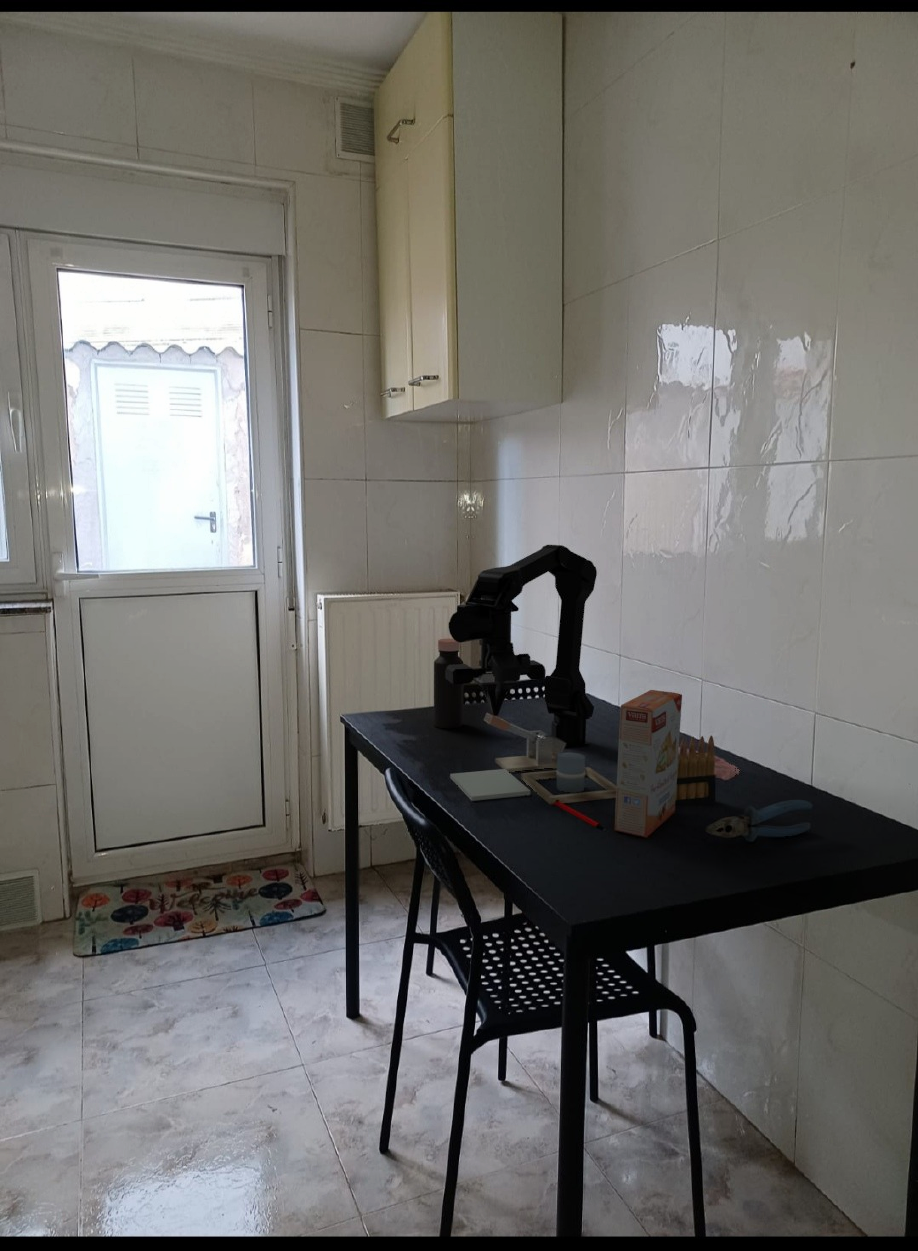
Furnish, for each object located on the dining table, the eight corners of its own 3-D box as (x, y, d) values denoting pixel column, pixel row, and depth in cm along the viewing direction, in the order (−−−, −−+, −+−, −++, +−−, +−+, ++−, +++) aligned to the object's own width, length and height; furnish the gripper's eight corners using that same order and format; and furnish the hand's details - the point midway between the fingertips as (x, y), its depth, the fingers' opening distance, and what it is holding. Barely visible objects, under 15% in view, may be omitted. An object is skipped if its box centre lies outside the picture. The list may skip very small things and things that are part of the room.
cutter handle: (553, 752, 178) (560, 739, 178) (560, 757, 174) (566, 743, 174) (482, 723, 172) (488, 709, 172) (487, 727, 169) (494, 713, 169)
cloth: (741, 787, 164) (742, 775, 164) (623, 775, 171) (624, 763, 171) (743, 756, 183) (744, 745, 183) (637, 746, 190) (638, 735, 190)
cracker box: (649, 840, 137) (654, 709, 134) (612, 832, 140) (617, 704, 137) (678, 813, 149) (683, 692, 146) (644, 806, 152) (648, 687, 149)
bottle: (445, 720, 208) (445, 636, 205) (468, 724, 204) (469, 639, 201) (427, 726, 203) (428, 640, 200) (451, 730, 199) (452, 643, 196)
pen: (541, 795, 158) (541, 789, 157) (607, 832, 141) (607, 825, 141) (537, 796, 157) (537, 790, 157) (602, 833, 141) (602, 826, 140)
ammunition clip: (660, 808, 151) (663, 740, 149) (655, 804, 153) (658, 737, 151) (715, 803, 154) (719, 736, 152) (709, 799, 156) (713, 733, 154)
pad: (505, 773, 169) (505, 769, 169) (530, 795, 157) (530, 790, 157) (450, 778, 166) (450, 773, 166) (471, 801, 154) (471, 796, 154)
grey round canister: (577, 782, 164) (578, 751, 163) (589, 791, 159) (590, 759, 158) (551, 785, 163) (552, 753, 162) (563, 794, 158) (564, 762, 157)
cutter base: (550, 757, 180) (551, 728, 179) (564, 767, 173) (565, 737, 172) (495, 762, 176) (495, 733, 175) (507, 772, 169) (507, 742, 168)
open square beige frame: (588, 773, 170) (588, 767, 169) (622, 797, 156) (623, 790, 156) (520, 779, 165) (520, 773, 165) (550, 804, 152) (550, 798, 152)
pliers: (711, 853, 132) (713, 816, 131) (702, 848, 134) (704, 811, 133) (813, 835, 140) (816, 799, 139) (803, 830, 142) (806, 795, 141)
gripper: (462, 645, 158) (461, 729, 160) (557, 641, 164) (555, 722, 166) (444, 635, 169) (444, 715, 171) (535, 631, 174) (533, 708, 176)
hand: (495, 715), depth 171 cm, fingers closed
